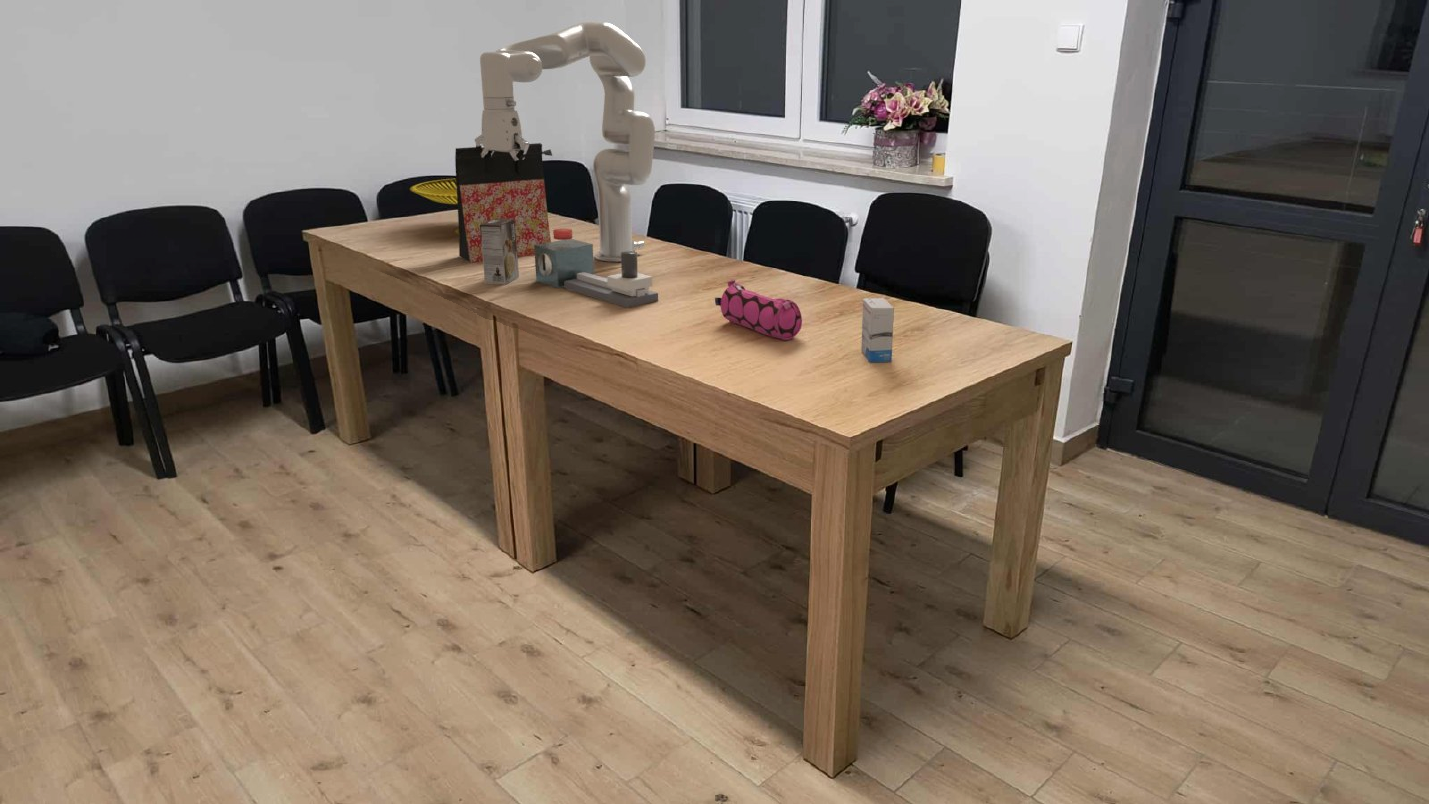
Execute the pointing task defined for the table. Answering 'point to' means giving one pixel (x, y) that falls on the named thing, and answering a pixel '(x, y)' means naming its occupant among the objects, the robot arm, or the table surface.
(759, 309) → the pencil case
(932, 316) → the table surface
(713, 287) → the table surface
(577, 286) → the rail bed
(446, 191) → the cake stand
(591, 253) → the cabinet
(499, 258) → the coffee box
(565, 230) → the button
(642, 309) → the table surface
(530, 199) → the gift bag
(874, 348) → the ink box
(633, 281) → the carriage
